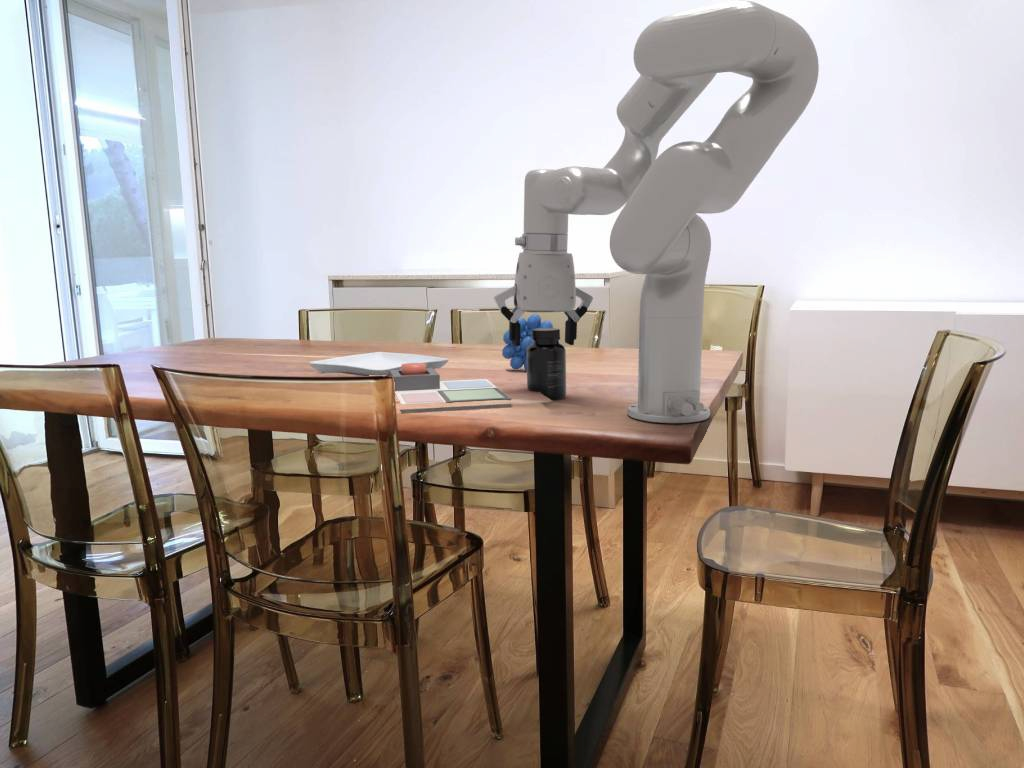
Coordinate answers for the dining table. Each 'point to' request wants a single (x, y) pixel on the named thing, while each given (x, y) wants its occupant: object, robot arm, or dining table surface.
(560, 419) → the dining table surface
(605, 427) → the dining table surface
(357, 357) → the salad plate
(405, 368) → the button
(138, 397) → the dining table surface
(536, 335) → the supplement bottle
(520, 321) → the grapes
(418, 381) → the button housing
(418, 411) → the printed board
